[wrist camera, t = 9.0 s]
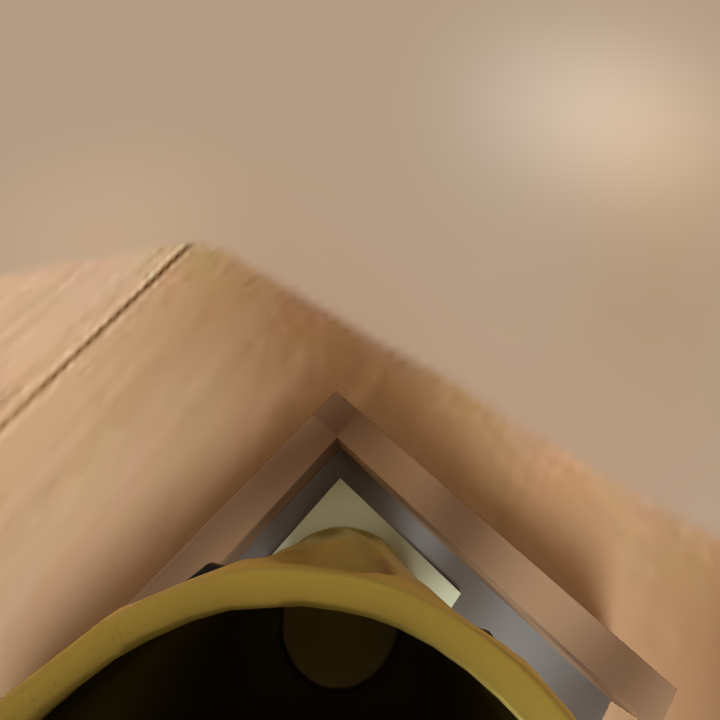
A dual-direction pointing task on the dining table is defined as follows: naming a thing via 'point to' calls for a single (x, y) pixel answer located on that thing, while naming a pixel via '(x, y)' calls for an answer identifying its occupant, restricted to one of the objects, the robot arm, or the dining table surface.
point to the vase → (290, 649)
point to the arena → (422, 555)
